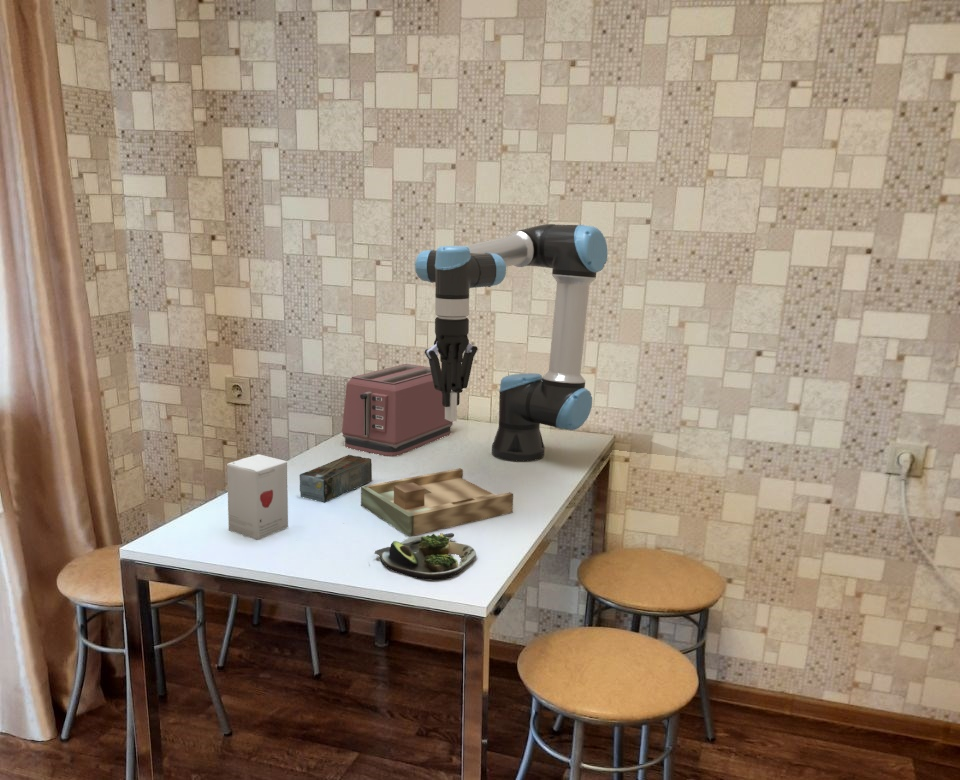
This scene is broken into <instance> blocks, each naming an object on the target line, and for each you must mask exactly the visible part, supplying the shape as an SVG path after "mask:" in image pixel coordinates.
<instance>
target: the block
mask: <svg viewBox="0 0 960 780" xmlns="http://www.w3.org/2000/svg"><path fill="white" fill-rule="evenodd" d="M424 492H425V489H424V488H422V487H420V486H419V485H417V484H415V483H408V484H402V485H397V486H394V503H395V504H396V505H398V506H400V507H401V508H403V509H404V510H406V509H411V508H416V507H421V506H424Z"/></svg>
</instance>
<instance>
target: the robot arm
mask: <svg viewBox="0 0 960 780" xmlns="http://www.w3.org/2000/svg"><path fill="white" fill-rule="evenodd" d="M608 254H609V253H608V244H607V240H606V237H605V236H604V234H603V233H602V231H601V230H600V229H599V228H597V227H595V226H591V225H584V224H554V223H549V224H548V223H547V224H540V225H536V226H531V227H527V228H523V229H520V230H515V231H512V232H510V233H509V234H508V235H507V236H504V237H499V238H496V239H491V240H486V241H485V240H484V241H480V242H476V243H471V244H470V243H469V244H466V245H441V246H439V247H437V248H436V250H435V249H429V250H428V249H427V250H422V251H420V252H419V253H418V255H417V256H416V258H415V261H414V262H415V263H414V269H415V274H416V275H417V277H418V278H419V280H421V281H424V282H428V283H430V284H435V285H434V286H435V291H434V292H435V294H434V295H435V296H434V297H435V303H434V304H435V305H434V307H435V310H434V314H435V316H436V317H435V318H434V334H435V339H434V342H433V345H432V346H431V347H430V348H426V349H425V350H424V355H425V356H426V357H427V360H428V363H429V367H430V369H431V373H432V378H433V383H434V388H435V389H436V390H439V391H441V392H442V405H443V406H445V419H446V420H448V421H451V422H452V421H453V422H457V421H458V416H457V415H458V414H457V413H458V410H457V409H458V408H457V407H458V406H460V400H461V399H460V398H461V397H460V394H461V393H463V391H464V389H467V388H468V385H469V381H470V376H471V371H472V367H473V363H474V357H475V355H476V353H477V352H478V349H479V348H478V346H476V345H472V343H470V339H469V337H468V334H469V333H470V332H469V331H470V330H469V329H470V328H469V327H470V326H469V325H470V320H469V319H470V318H468V316H469V315H470V289H473V288H475V289H476V288H485V287H487V288H491V287H493V286H498V285H499V284H501V283H502V282H504V279H505V277H506V274H507V268H508V267H512V266H514V267H516V268H523V267H540V268H548V269H552V273H551V276H552V278H553V279H554V280H555V281H556V287H555V288H556V290H555V291H556V292H555V300H554V311H553V319H552V320H553V322H552V331H551V332H552V333H551V340H550V341H551V342H550V351H549V352H550V353H549V363H548V371H547V372H546V373H545V374H544V375H543V376H542V374H541V373H530V372H528V373H515V374H509V375H505V376H504V377H502V379H500V384H499V390H498V392H499V402H498V405H499V408H498V410H499V411H498V428H497V430H496V432H495V436H494V439H493V443H492V445H491V454H492V456H494V457H495V458H497V459H501V460H504V461H508V462H509V461H510V462H533V461H534V462H535V461H538V460H540V459H543V458H544V457H545V452H546V451H545V449H546V448H545V447H546V446H545V444H544V440H543V436H542V433H541V430H540V429H541V428H540V426H541V425H544V426H549V427H552V428H557V429H559V430H568V431H575V430H577V429H580V427H582V426H583V425H584V424H585V422H586V421H587V420H588V418H589V416H590V413H591V411H592V406H593V397H592V393H591V391H590V390H588V389H587V388H586V379H585V378H584V377H583V376H582V373H581V372H582V363H583V361H582V360H583V353H584V352H583V351H584V343H585V342H584V341H585V334H586V333H585V331H586V324H587V323H586V321H587V314H588V303H589V292H590V291H589V290H590V285H591V284H592V283H593V282H594V281H595V280H596V279H597V273H599V272H600V271H603V269H604V268H605V265H606V263H607V261H608V260H607V259H608ZM438 356H439V357H438ZM453 422H452V423H453Z"/></svg>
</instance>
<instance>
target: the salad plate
mask: <svg viewBox="0 0 960 780" xmlns="http://www.w3.org/2000/svg"><path fill="white" fill-rule="evenodd" d="M454 537H455V534H454V533H453V532H450V533H442V532H441V533H440V534H438V535H436V534H435V533H432V534H431V535H429V534H427V535H423V536H422V535H421V536H410V537H407V539H404V540H402V541H401V542H399V541H396V540H393V542H391V544H390V546H387V547H383V548H380V549H377V550H374V552H373V554H375V555H377V556H379V558H381V561H382V563H383V564H384V565H385V567H386V568H387V569H389V570H390V571H392V572H395V573H397V574H401V575H404V576H406V577H412V578H414V579H418V580H419V579H420V580H426V581H428V580H429V581H439V580H443V579H447V578H451V577H454V576H455V575H457V574H459V573H460V572H461V571H462V569H464V568H465V567H467V566H468V565H469V564H470V563H471V562H472V561H473V559H474V558H476V555H477V552H476V550H475V548H474V547H472V546H471V545H468V544H464V543H460V542H459V543H458V542H454V541H450V540H452V539H453V538H454ZM455 554H456V556H458V555H459V556H458V557H459V558H461V559H460V562H458V559H456V558H454V556H455ZM449 555H450V556H449ZM453 555H454V556H453Z"/></svg>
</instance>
